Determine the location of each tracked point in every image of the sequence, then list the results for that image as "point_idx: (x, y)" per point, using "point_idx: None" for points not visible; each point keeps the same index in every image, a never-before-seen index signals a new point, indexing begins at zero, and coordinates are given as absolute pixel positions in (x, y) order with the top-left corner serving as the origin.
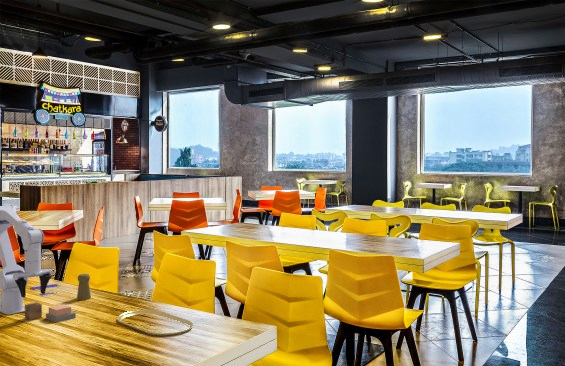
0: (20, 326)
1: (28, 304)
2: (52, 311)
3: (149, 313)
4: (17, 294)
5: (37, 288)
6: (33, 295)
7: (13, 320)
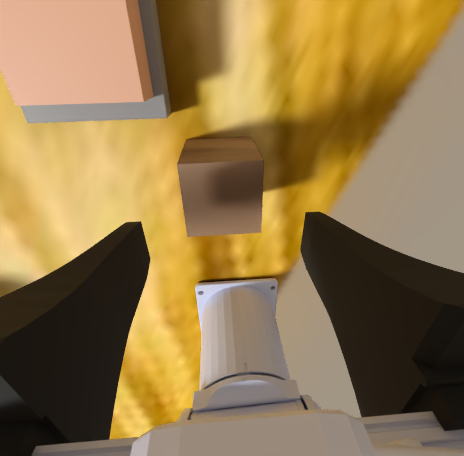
0: (346, 53)
1: (246, 217)
2: (135, 24)
3: None
4: (243, 355)
5: None
6: (116, 409)
7: (301, 196)
